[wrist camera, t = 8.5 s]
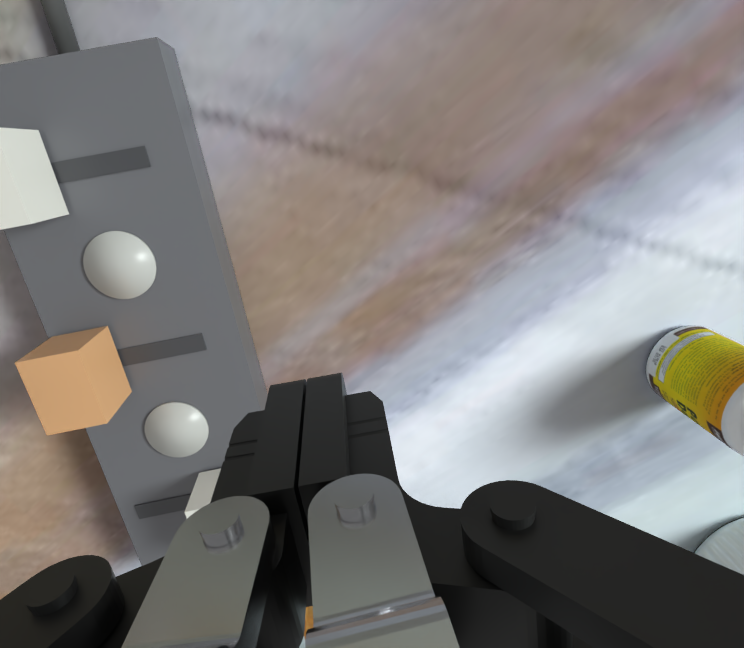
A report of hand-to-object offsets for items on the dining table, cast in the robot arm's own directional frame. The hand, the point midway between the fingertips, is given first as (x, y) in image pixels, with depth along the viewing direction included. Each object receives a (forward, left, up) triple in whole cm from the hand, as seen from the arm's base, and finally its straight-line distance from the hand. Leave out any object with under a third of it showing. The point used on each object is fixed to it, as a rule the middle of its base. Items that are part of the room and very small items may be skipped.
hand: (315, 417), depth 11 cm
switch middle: (+4, -13, -18) cm, 23 cm away
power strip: (-2, -10, -21) cm, 24 cm away
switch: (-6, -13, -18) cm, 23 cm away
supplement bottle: (+13, +23, -21) cm, 34 cm away
